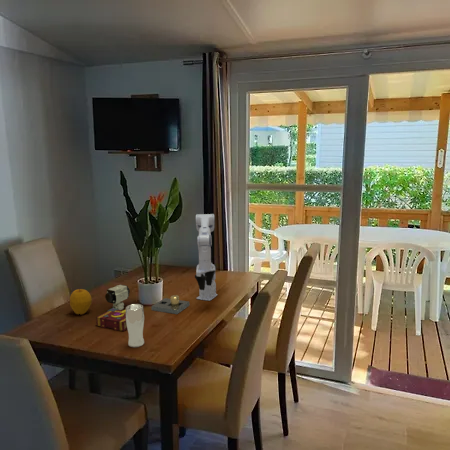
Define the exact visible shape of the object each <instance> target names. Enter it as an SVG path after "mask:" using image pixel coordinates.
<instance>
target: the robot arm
mask: <svg viewBox="0 0 450 450" xmlns="http://www.w3.org/2000/svg"><path fill="white" fill-rule="evenodd" d="M195 226H196V227H195V228H196V231H197V232H198V235H197V243H196V244H197V249H198V250H197V251H198V264H197V265H196V270H195V271H196V272H195V273H196V274H195V275H194V278H195V281H196V282H197V284H198V289H199V293H198V294H199V296H197V297H196V298H195V299H197V300H201V301H212V300H213V299H215V298H216V297H217V296H218V294H217V283H216V266H215V264H213V262H212V248H211V247H212V244H213V243H212V234H211V233H212V232H214V231H215V214H214V213H210V214H209V213H207V214H206V213H205V214H204V213H199V214H198V213H196V215H195Z"/></svg>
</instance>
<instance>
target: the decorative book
mask: <svg viewBox="0 0 450 450" xmlns="http://www.w3.org/2000/svg"><path fill="white" fill-rule="evenodd" d="M95 321H96V323H95V324H96V326H97V327H101V328H103V329H107V328H108V329H112V330H113V331H122V332H125V331H126V330H128V329H127V325H126V309H122V310H119V309H115V308H113V307H112V308H110V309H108V310H107V311H105V312H103V313H102V314H100V315H98V316H96V317H95Z"/></svg>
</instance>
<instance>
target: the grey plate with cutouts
mask: <svg viewBox="0 0 450 450" xmlns="http://www.w3.org/2000/svg"><path fill="white" fill-rule="evenodd" d="M189 306H190V301H186V300H180V299H179V306H178V307H172V306H171V298H168V297H165V298H163V299H161V300H159V301H157V302H156V303H155V304H153V305H151V311H155V312H161V313H166V314H175V315H178V314H180V313H181V312H182V311H184V310H186V309H187V308H188V307H189Z"/></svg>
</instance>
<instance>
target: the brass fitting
mask: <svg viewBox="0 0 450 450" xmlns="http://www.w3.org/2000/svg"><path fill="white" fill-rule="evenodd" d="M170 299H171V306H172V307H178V306H179V300H180V295H178V294H174V295H171V296H170Z"/></svg>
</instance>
